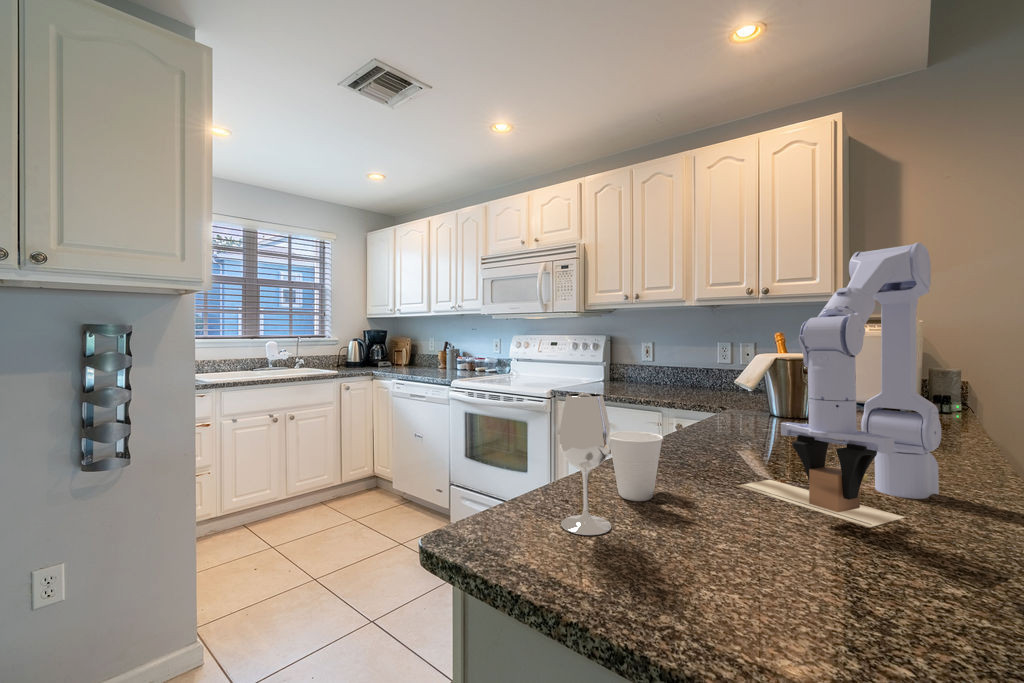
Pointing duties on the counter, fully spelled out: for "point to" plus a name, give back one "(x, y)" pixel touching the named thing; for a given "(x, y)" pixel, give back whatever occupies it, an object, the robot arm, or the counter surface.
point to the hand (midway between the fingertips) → (833, 493)
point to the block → (830, 490)
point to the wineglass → (585, 451)
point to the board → (801, 498)
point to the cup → (635, 463)
